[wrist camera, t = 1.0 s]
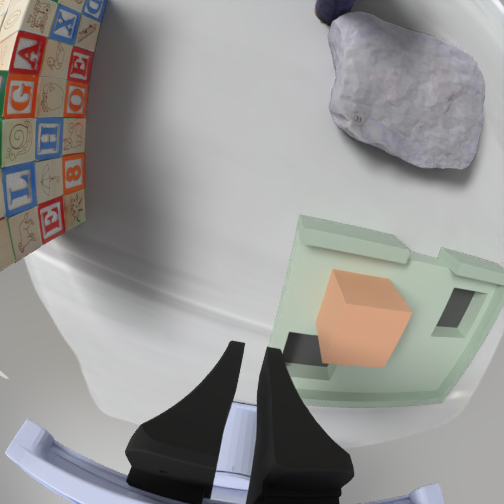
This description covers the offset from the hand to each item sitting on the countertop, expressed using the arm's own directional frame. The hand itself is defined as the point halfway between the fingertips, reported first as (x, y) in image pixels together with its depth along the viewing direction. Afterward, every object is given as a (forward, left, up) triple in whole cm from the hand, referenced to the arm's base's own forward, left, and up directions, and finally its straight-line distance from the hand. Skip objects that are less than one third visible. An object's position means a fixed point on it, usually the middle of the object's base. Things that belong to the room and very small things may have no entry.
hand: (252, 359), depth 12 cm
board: (-3, -12, -9) cm, 15 cm away
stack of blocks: (+12, +19, -10) cm, 25 cm away
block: (0, -7, -7) cm, 10 cm away
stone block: (+15, -8, -10) cm, 20 cm away
